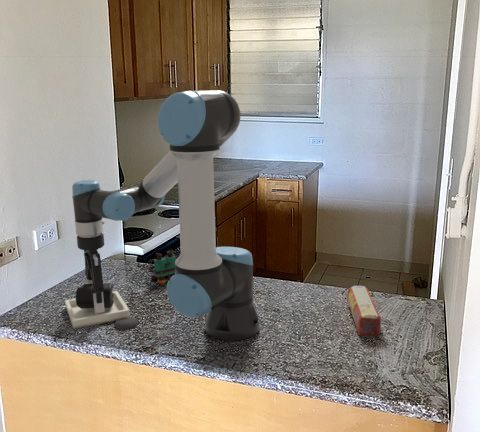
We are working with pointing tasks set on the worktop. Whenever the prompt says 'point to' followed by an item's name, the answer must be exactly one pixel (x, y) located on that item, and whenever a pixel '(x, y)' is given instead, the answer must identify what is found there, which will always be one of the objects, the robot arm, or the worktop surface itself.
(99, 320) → the mount tray
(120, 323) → the lens cap
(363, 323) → the snack package
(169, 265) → the binoculars
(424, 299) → the worktop surface
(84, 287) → the end cap
